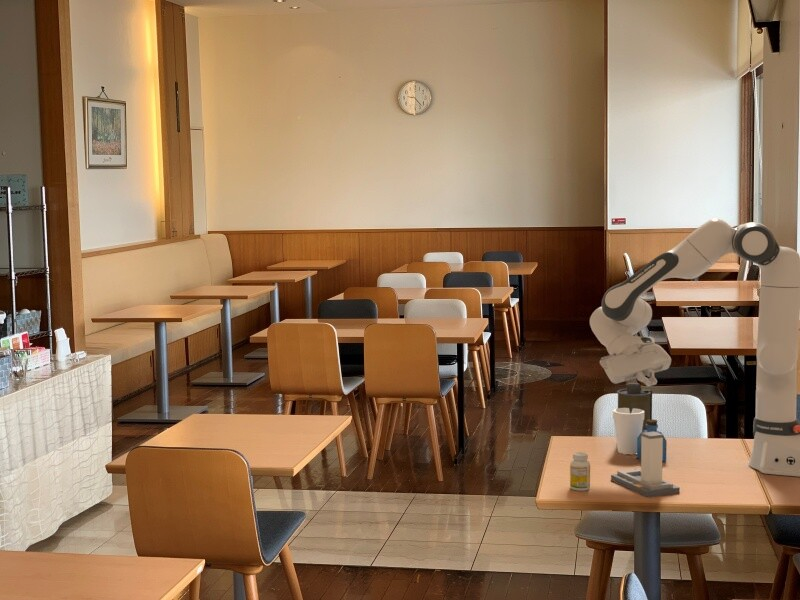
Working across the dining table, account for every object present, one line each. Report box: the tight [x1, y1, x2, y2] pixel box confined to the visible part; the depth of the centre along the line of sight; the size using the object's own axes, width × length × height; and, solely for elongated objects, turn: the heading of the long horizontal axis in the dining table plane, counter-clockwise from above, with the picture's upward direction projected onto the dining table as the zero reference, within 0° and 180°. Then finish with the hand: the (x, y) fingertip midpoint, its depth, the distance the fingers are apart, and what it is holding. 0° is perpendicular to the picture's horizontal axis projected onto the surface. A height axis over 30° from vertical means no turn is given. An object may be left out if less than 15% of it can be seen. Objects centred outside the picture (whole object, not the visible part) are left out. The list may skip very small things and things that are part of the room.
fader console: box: [610, 468, 681, 498], centre depth 283 cm, size 18×10×2 cm, turn 20°
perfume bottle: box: [636, 418, 668, 462], centre depth 310 cm, size 6×6×12 cm
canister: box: [616, 382, 653, 431], centre depth 327 cm, size 11×10×20 cm
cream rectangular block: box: [640, 431, 664, 485], centre depth 279 cm, size 4×4×14 cm
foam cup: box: [612, 407, 644, 455], centre depth 319 cm, size 10×9×13 cm
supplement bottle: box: [569, 451, 591, 492], centre depth 282 cm, size 5×5×10 cm
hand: (652, 384), depth 296 cm, fingers closed
